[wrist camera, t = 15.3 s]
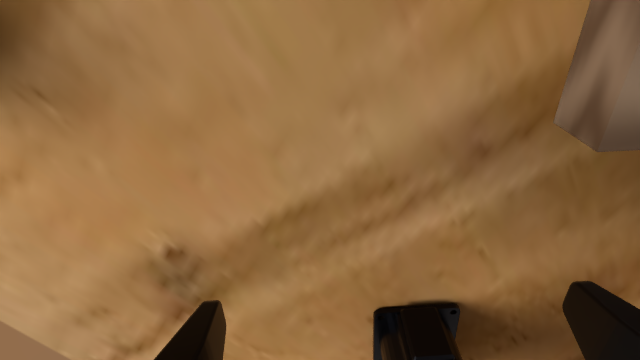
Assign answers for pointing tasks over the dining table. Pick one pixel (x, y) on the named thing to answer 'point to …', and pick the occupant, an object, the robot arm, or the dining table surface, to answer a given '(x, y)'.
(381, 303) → the dining table surface
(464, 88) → the dining table surface
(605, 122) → the brown wooden bar
